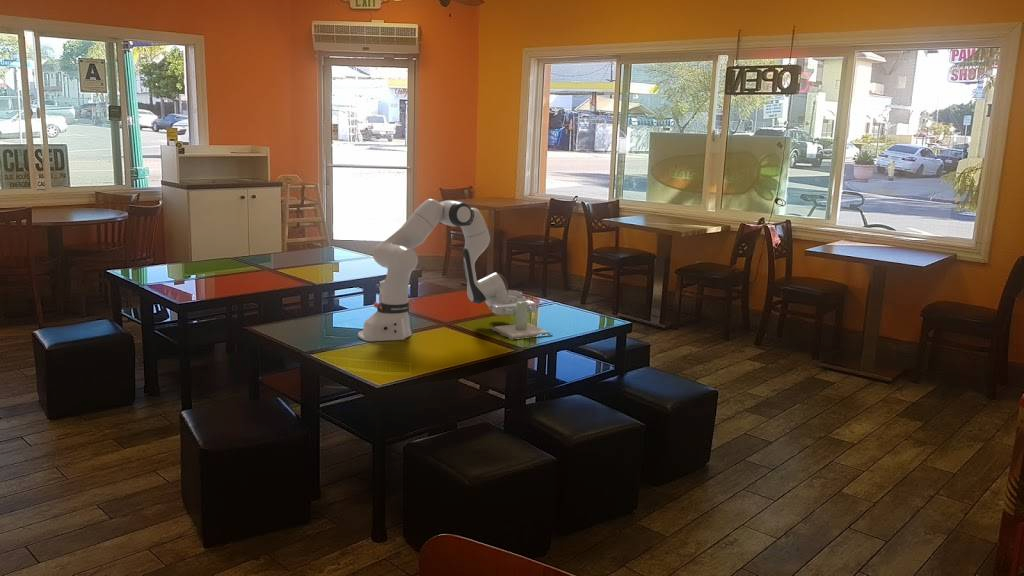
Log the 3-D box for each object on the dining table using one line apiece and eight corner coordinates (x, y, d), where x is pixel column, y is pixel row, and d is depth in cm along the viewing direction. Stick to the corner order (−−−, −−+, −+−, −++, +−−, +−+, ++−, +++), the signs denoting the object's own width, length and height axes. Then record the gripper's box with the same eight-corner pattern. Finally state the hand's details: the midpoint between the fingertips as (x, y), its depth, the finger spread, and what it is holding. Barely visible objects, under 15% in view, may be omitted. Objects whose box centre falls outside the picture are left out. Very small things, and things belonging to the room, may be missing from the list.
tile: (511, 340, 333) (511, 336, 332) (490, 329, 350) (490, 326, 350) (552, 335, 342) (552, 332, 342) (529, 325, 359) (529, 322, 359)
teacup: (513, 311, 386) (513, 295, 385) (491, 308, 393) (492, 292, 391) (528, 306, 399) (529, 290, 397) (507, 303, 405) (508, 287, 404)
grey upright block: (518, 331, 342) (519, 303, 340) (513, 328, 347) (514, 301, 344) (528, 329, 345) (529, 303, 342) (523, 327, 349) (524, 300, 347)
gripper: (486, 299, 350) (501, 306, 338) (527, 296, 360) (542, 302, 348) (486, 313, 351) (500, 320, 339) (526, 310, 361) (541, 316, 349)
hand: (522, 311), depth 344 cm, fingers open, 8 cm apart
